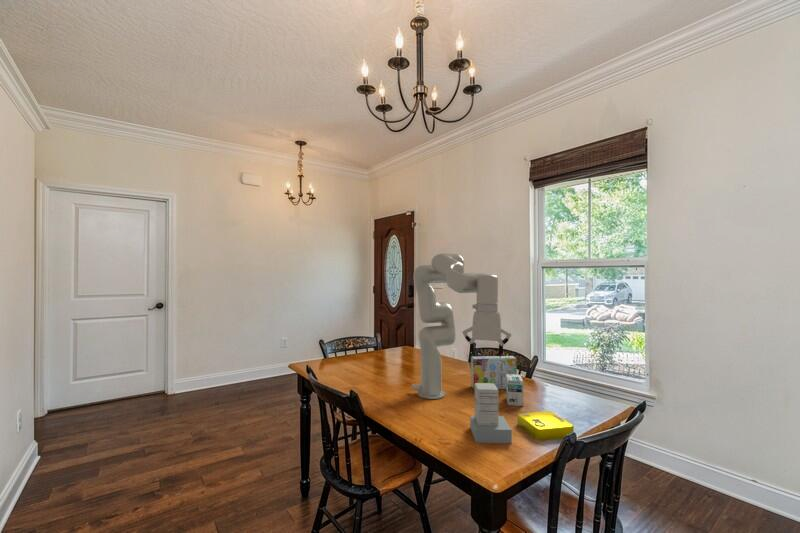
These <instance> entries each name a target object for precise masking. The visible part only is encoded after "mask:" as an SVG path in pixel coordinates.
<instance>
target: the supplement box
mask: <svg viewBox="0 0 800 533" xmlns="http://www.w3.org/2000/svg"><path fill="white" fill-rule="evenodd" d="M474 416H475V418H476V421H477V424H478V425H488V426H498V416H499V389H497V387H496V386H495V384H494V383H475V389H474Z"/></svg>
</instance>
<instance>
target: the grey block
mask: <svg viewBox="0 0 800 533" xmlns="http://www.w3.org/2000/svg"><path fill="white" fill-rule="evenodd" d="M469 418H470V420H469V423H470V424H469V426H470V428H469V429H470V430H471V431H470V432H471V434H472V436H473V439H474V442H475V443H476V444H480V443H481V444H513V443H512V442H513V440H512V439H513V438H512V437H513V436H512V434H513V433H512V432H513V430H512V428H511V427H510V425H509V423H508V422H507V420H506V419H505V417H504V415H498V426H488V425H478V424H477V421H476V418H475V415H470V416H469Z"/></svg>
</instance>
